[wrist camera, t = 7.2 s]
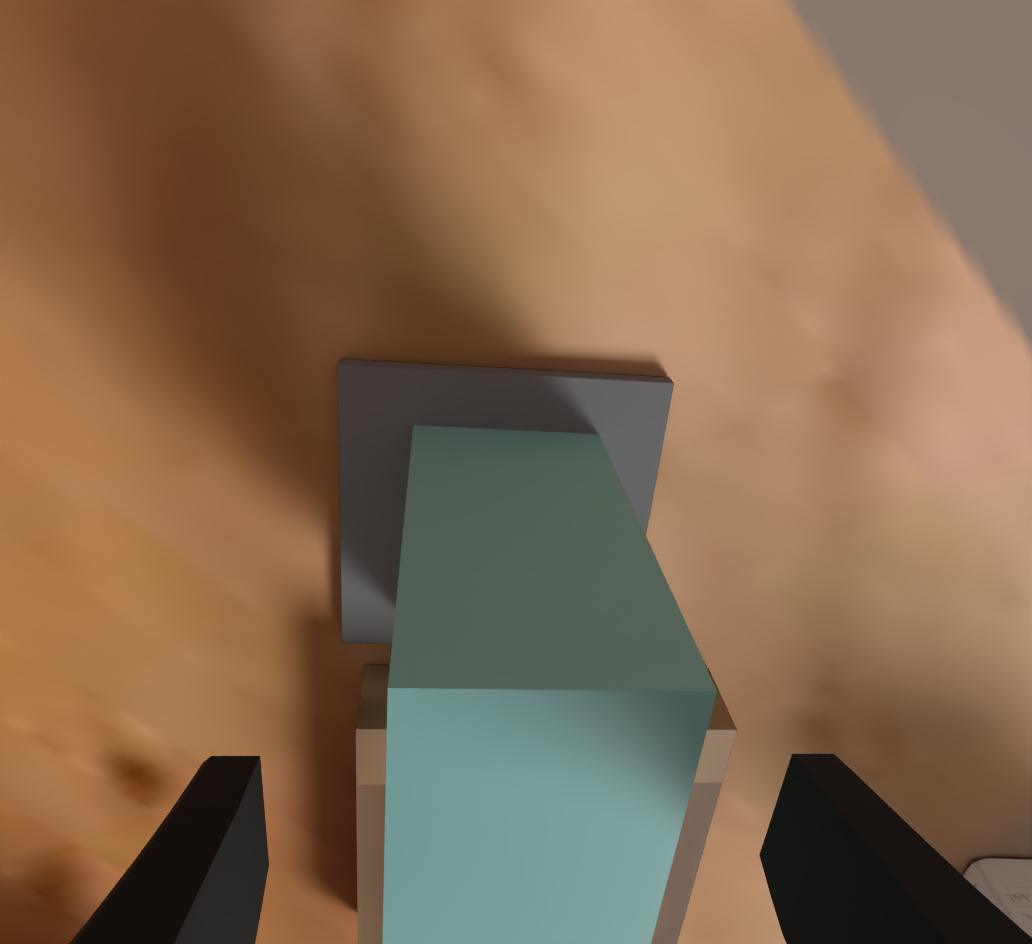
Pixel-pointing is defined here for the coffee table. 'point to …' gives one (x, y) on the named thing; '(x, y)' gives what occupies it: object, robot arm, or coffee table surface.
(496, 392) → the mat
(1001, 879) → the skincare box
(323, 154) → the coffee table surface
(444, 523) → the teal block
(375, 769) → the block
